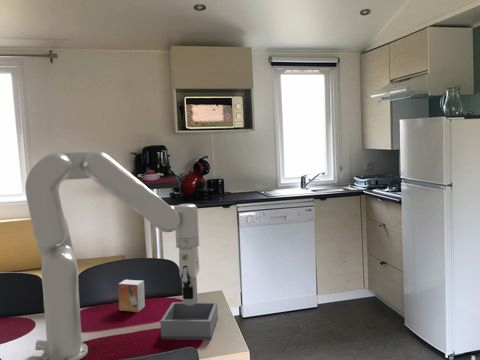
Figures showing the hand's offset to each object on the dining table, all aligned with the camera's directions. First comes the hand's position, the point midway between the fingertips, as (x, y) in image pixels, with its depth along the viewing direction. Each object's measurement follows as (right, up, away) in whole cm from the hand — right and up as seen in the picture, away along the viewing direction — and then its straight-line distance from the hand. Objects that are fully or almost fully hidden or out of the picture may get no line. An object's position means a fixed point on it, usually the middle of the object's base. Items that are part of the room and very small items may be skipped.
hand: (190, 295), depth 141 cm
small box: (-24, -11, +20) cm, 33 cm away
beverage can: (0, -3, 0) cm, 3 cm away
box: (0, -12, +1) cm, 11 cm away
